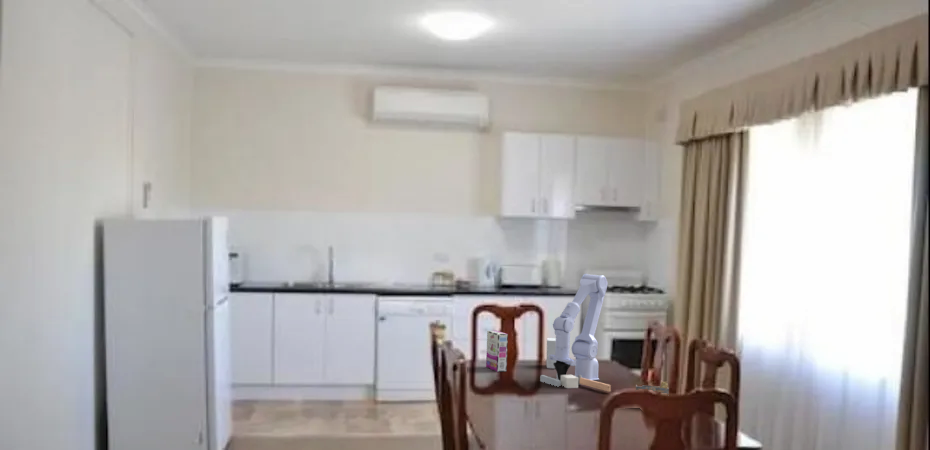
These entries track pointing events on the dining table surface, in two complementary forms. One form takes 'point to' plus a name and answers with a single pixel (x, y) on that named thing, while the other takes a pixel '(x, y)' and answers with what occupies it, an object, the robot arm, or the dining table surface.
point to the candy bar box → (497, 351)
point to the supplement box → (550, 352)
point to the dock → (550, 380)
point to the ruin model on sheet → (656, 388)
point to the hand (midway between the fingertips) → (561, 380)
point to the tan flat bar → (593, 384)
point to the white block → (569, 381)
